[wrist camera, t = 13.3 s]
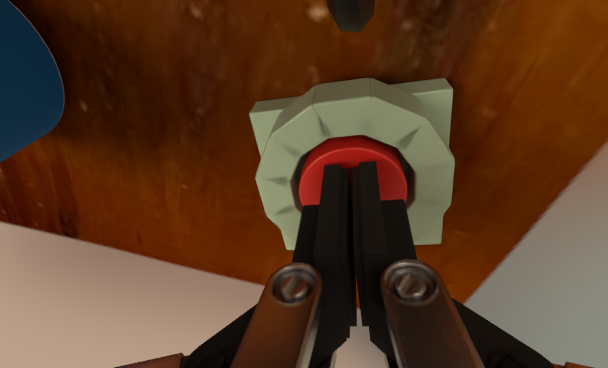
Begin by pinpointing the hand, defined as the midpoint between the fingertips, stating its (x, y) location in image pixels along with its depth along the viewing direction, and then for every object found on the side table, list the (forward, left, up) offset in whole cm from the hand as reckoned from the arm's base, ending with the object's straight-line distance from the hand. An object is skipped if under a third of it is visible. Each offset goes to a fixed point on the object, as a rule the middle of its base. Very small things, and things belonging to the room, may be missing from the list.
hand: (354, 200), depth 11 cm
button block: (+1, 0, -3) cm, 3 cm away
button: (0, 0, -2) cm, 2 cm away
